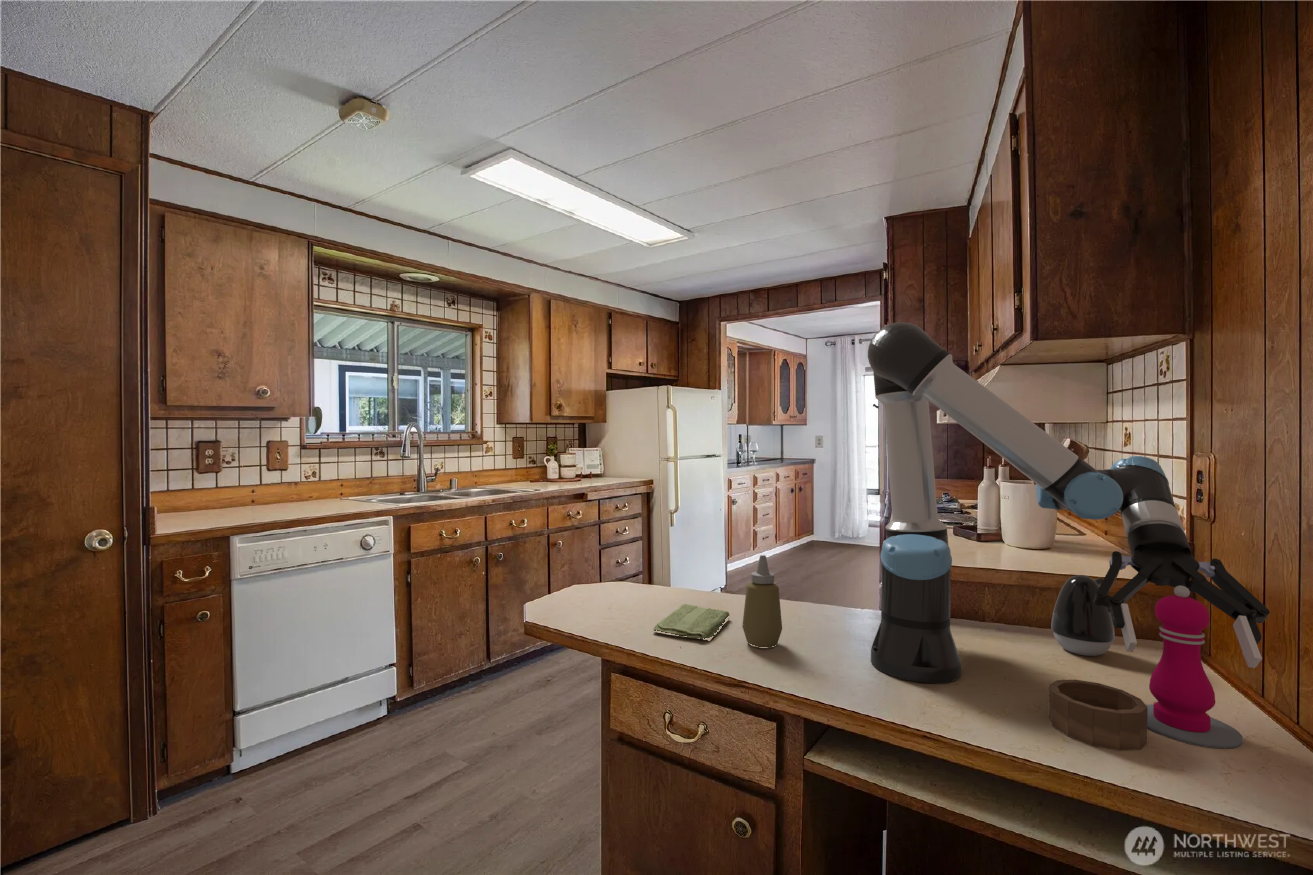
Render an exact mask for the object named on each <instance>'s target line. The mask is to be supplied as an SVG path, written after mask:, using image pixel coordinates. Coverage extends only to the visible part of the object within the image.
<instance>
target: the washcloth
mask: <svg viewBox="0 0 1313 875" xmlns="http://www.w3.org/2000/svg"><path fill="white" fill-rule="evenodd" d="M728 616H729V617H730V612H729V611H728V610H723V609H715V608H711V607H708V608H706V607H701V606H698V605H694V604H693V605H692V604H687V603H682V604H681V605H680V606H679V607H678V608H677V609H674V610H673V611H672V612H671V613H669V614H668V615H667V616H666V617H664V618H661V620H659V622H658V623H657V624H656V625H655V626H654V627H653V630H654V631H656V630H657V631H661V632H665V633H671V634H675V635H679V636H687V637H691V638H690V639H693V638H700V639H703V638H704V639H705V638H710V637H712V636H714V633H716V632H717V630H719V627H720V626H722V625H723V624H722V623H724V622H725V619H726V618H727V617H728ZM653 630H652V631H653ZM714 637H715V636H714Z"/></svg>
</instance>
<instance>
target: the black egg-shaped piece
mask: <svg viewBox="0 0 1313 875" xmlns="http://www.w3.org/2000/svg"><path fill="white" fill-rule="evenodd" d="M1103 579H1104V578H1102V577H1098V578H1096V579H1093V578H1092V577H1090V576H1087V575H1083V574H1078V575H1077V574H1076V575H1072V576H1071V577H1070V578H1067V580H1066V581H1065V583H1064V584H1063V585H1062V587H1061V588H1060V591H1059V593H1058V595H1057V599H1056V601H1055V605H1054V608H1053V611H1052V617H1051V625H1050V628H1051V631H1052V632H1053V636H1054V638H1055V640H1056V642H1057V643H1058V644H1059V645H1060V646H1061V648H1063V649H1064V650H1066V651H1067V652H1070V653H1072V654H1076V655H1080V656H1085V657H1098V656H1100V655H1104V654H1105V653H1106V652H1108V651H1109V649H1111V646H1112V644H1113V642H1114V640H1115V627H1114V625H1113V623H1112V618H1111V614H1110V612H1108V610H1107V607H1105V606H1103V605H1101V606H1097V605H1095V604H1094V598H1095V596H1096V593H1097V591H1098V589H1099V587H1100V585H1101V583H1102V581H1103Z"/></svg>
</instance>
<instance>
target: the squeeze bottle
mask: <svg viewBox="0 0 1313 875" xmlns="http://www.w3.org/2000/svg"><path fill="white" fill-rule="evenodd" d="M750 574H751V575H750V576H751V578H750V581H751V582H749V583H748V584H746V591H745V596H744V597H745V599H744V607H743V619H742V630H743V633H744V636H745V639H746V640H745V641H746V642H748V643H750V644H752V645H755V646H758V647H772V646H775V645H776V644H777V645H778V643H779V640H780V637H781V634H782V631H783V624H782V622H783V621H782V612H781V601H780V589H779V588H780V587H779V586H778V585H777V584H776V583H775V574H774V573H773V572H770V569H769V565H768V560H767V555H764V554H763V555H762V554H761V555H759V558H758V563H757V568H756V570H755V571H753V572H750ZM748 643H747V644H748ZM775 647H776V646H775Z"/></svg>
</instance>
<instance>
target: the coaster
mask: <svg viewBox="0 0 1313 875" xmlns="http://www.w3.org/2000/svg"><path fill="white" fill-rule="evenodd" d="M1145 705H1146V706H1147V707H1148V714H1147V730H1149V731H1150V732H1153V733H1156V734H1157V735H1161V736H1163V737H1166V738H1168V739H1171V740H1173V741H1178V742H1180V743H1184V744H1189V745H1193V746H1197V747H1202V748H1209V749H1219V750H1220V749H1221V750H1229V749H1231V750H1232V749H1237V748H1239V747H1241V746H1242V745H1243V743H1244V741H1243V735H1242V734H1241V732H1240V731H1238V730H1237V729H1236V728H1234V727H1232V726H1230V725H1229V724H1227V723H1226V722H1223V721H1222V720H1218V719H1216V718H1213V717H1211V729H1210V730H1209V731H1208V732H1191V731H1185V730H1181V729H1177V728H1174V727H1171V726H1169V725H1166V724H1164V723H1162V722H1160V721H1158V720H1157V719H1156V718H1155V717H1154V715H1153V705H1154V704H1145Z"/></svg>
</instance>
